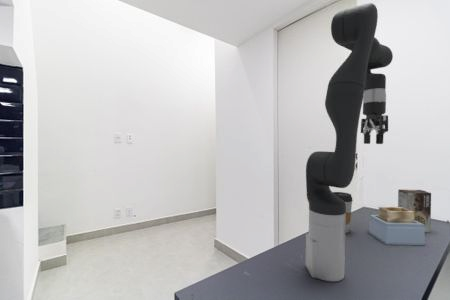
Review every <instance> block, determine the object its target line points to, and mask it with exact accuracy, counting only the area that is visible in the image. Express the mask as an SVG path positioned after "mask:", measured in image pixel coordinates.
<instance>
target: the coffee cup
mask: <svg viewBox="0 0 450 300" xmlns="http://www.w3.org/2000/svg"><path fill="white" fill-rule="evenodd" d="M332 192H333V191H332ZM333 193H334V194H335V195H336V196H337V197H339V198H340V199H342V200H343V201H344V202H345V204H346V222H345V234H348V233H349V231H350V227H351V225H350V224H351V219H352V218H351V217H352V205H353V197H352V193H348V192H344V191H343V192H342V191H334V192H333Z"/></svg>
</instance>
